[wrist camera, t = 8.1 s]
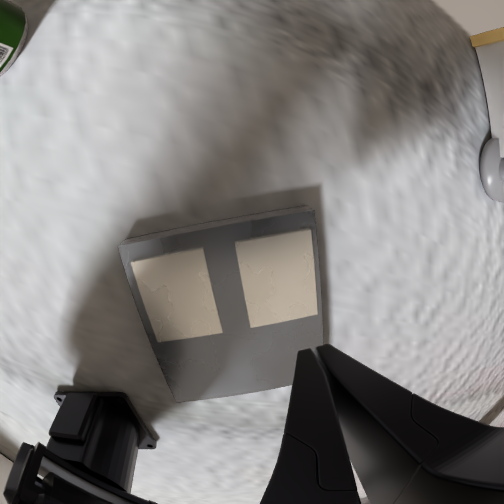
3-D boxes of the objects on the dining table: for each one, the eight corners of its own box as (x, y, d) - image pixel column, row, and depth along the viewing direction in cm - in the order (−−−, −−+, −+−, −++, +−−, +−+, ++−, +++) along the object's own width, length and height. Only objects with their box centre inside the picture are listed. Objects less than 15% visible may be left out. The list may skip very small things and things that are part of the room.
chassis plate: (318, 365, 17) (324, 379, 16) (178, 389, 17) (176, 404, 16) (306, 205, 14) (315, 210, 13) (125, 239, 14) (116, 247, 12)
